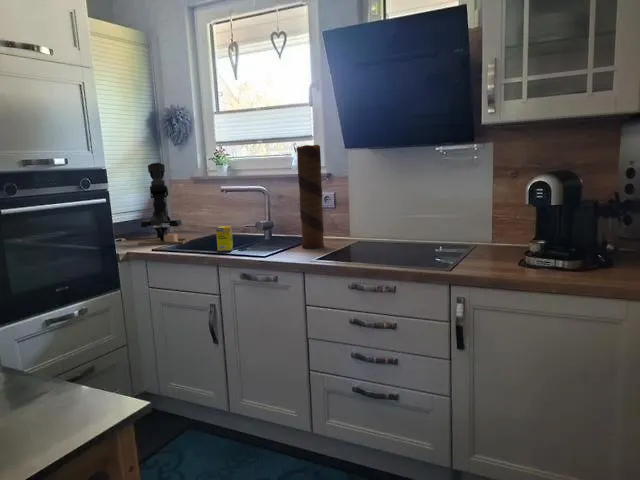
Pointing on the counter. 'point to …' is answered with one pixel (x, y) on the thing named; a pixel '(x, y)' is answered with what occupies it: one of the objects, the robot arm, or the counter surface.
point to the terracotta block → (170, 238)
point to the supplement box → (224, 239)
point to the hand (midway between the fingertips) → (162, 240)
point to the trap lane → (159, 242)
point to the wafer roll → (310, 195)
